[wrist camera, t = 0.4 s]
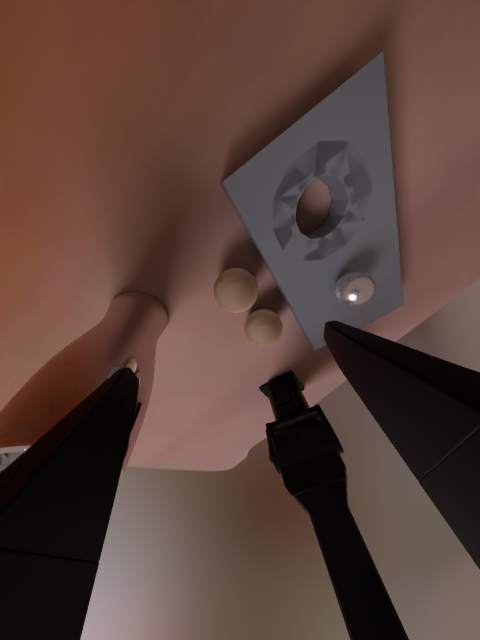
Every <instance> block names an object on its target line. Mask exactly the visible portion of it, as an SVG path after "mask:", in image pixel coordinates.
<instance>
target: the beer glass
mask: <svg viewBox="0 0 480 640" xmlns="http://www.w3.org/2000/svg"><path fill="white" fill-rule="evenodd" d="M167 323H168V315H167V311H166V309H165V308H164V306H163V305H162V304H161V303H160V302H159V301H158V300H157V299H155V298H154V297H152V296H150V295H148V294H145V293H141V292H127V293H123V294H121V295H119V296H117V297H116V298H115V299H114V300H113V301H112V302H111V304H110V306H109V308H108V310H107V313H106V315H105V317H104V318H103V319H102V320H101V321H100V322H99V323H98V324H97V325H96V326H94V327H93V328H92V329H90V330H89V331H87V332H86V333H84V334H83V335H82V336H80V337H79V338H77V339H76V340H75V341H73V342H72V343H70V344H69V345H68V346H66V347H65V348H64V349H62V350H61V351H60V352H59V353H57V354H56V355H55V356H54V357H52V358H51V359H50V360H49V361H48V362H46V363H45V364H44V365H43V366H42V367H41V368H40V369H39V370H38V371H37V372H36V373H35V374H34V375H33V376H32V377H31V378H30V379H29V380H28V381H27V382H26V383H25V384H24V385H23V387H22V388H21V389H20V390H19V391H18V392H17V393H16V394H15V395H14V396H13V397H12V399H11V400H10V401H9V402H8V403H7V404H6V406H5V407H4V408H3V409H2V410H1V411H0V473H1V472H2V471H3V470H4V469H5V468H6V467H8V466H9V465H10V464H11V463H12V462H13V461H14V460H16V459H17V458H18V457H19V456H20V455H21V454H22V453H24V452H26V450H27V449H28V448H29V447H30V446H32V445H33V444H34V443H35V442H36V441H37V440H38V439H40V438H41V437H42V436H43V435H44V434H45V433H46V432H48V431H49V430H50V429H51V428H52V427H53V426H54V425H55V424H57V423H58V422H59V421H60V420H61V419H62V418H63V417H65V416H66V415H67V414H68V413H69V412H70V411H71V410H73V409H74V408H75V407H76V406H77V405H78V404H79V403H81V402H82V401H83V400H84V399H85V398H86V397H87V396H89V395H90V394H91V393H92V392H93V391H94V390H95V389H97V388H98V387H99V386H100V385H101V384H102V383H103V382H105V381H106V380H107V379H108V378H109V377H110V376H111V375H112V374H114V373H115V372H116V371H117V370H118V369H121V368H125V367H129V368H131V369H132V371H133V372H134V373H135V375H136V376H137V377H138V379H139V389H138V397H137V404H136V411H135V417H134V422H133V426H132V430H131V434H130V438H129V442H128V446H127V450H126V454H125V458H124V462H123V466H122V471H121V475H120V479H119V483H120V482H121V481H122V479H123V477H124V474H125V470H126V467H127V464H128V462H129V459H130V456H131V454H132V451H133V448H134V446H135V443H136V440H137V438H138V435H139V432H140V429H141V427H142V424H143V421H144V418H145V414H146V411H147V408H148V404H149V400H150V396H151V392H152V387H153V379H154V370H155V355H156V345H157V341H158V338H159V337H160V335H161V334H162V332H163V331H164V329H165V328H166V326H167ZM119 483H118V484H119Z"/></svg>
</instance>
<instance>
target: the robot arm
mask: <svg viewBox="0 0 480 640" xmlns="http://www.w3.org/2000/svg"><path fill="white" fill-rule="evenodd" d="M324 340H325V342H326V344H327V346H328V348H329V350H330V352H331V353H332V355H333V357H334V359H335V361H336V363H337V364H338V366H339V368H340V369H341V371H342V372H343V374H344V375H345V377H346V378H347V380H348V381H349V383H350V384H351V385H352V387H353V388H354V390H355V391H356V392H357V394H358V395H359V397H360V398H361V400H362V401H363V403H364V404H365V405H366V407H367V408H368V410H369V411H370V413H371V414H372V416H373V417H374V418H375V420H376V421H377V423H378V424H379V426H380V427H381V428H382V430H383V431H384V433H385V434H386V435H387V437H388V438H389V440H390V441H391V443H392V444H393V445H394V447H395V448H396V450H397V451H398V453H399V454H400V456H401V457H402V459H403V460H404V461H405V463H406V464H407V466H408V467H409V468H410V470H411V471H412V473H413V474H414V476H415V477H416V479H417V480H418V481H419V483H420V485H421V486H422V487H423V489H424V490H425V492H426V493H427V495H428V496H429V497H430V499H431V500H432V501H433V503H434V505H435V506H436V507H437V509H438V510H439V512H440V513H441V515H442V516H443V518H444V519H445V520H446V522H447V523H448V525H449V526H450V528H451V529H452V530H453V532H454V533H455V535H456V536H457V538H458V539H459V540H460V542H461V543H462V545H463V546H464V548H465V549H466V551H467V552H468V553H469V554H470V556H471V558H472V559H473V561H474V562H475V563H476V565H477V566H478V568H479V569H480V372H477V371H474V370H471V369H468V368H465V367H462V366H459V365H456V364H454V363H451V362H448V361H445V360H442V359H440V358H437V357H434V356H432V357H431V355H429V354H426V353H423V352H421V351H418V350H415V349H412V348H409V347H407V346H404V345H401V344H399V343H396V342H393V341H391V340H388V339H385V338H382V337H380V336H377V335H374V334H372V333H369V332H366V331H363V330H361V329H358V328H355V327H352V326H350V325H347V324H344V323H342V322H339V321H336V320H332V321H328V322H326V323H325V327H324ZM290 373H291V374H290ZM301 388H302V389H301ZM138 389H139V379H138V377H137V376H136V375H135V373H134V372H133V371H132V369H131V368H129V367H125V368H121V369H118V370H117V371H116V372H115V373H114V374H112V375H111V376H110V377H109V378H108V379H107V380H106V381H105V382H103V383H102V384H101V385H100V386H99V387H98V388H97V389H95V390H94V391H93V392H92V393H91V394H90V395H89V396H87V397H86V398H85V399H84V400H83V401H82V402H81V403H79V404H78V405H77V406H76V407H75V408H74V409H73V410H71V411H70V412H69V413H68V414H67V415H66V416H65V417H63V418H62V419H61V420H60V421H59V422H58V423H57V424H55V425H54V426H53V427H52V428H51V429H50V430H49V431H48V432H46V433H45V434H44V435H43V436H42V437H41V438H40V439H38V440H37V441H36V442H35V443H34V444H33V445H32V446H30V447H29V448H28V449H27V450H26V452H24V453H22V454H21V455H20V456H19V457H18V458H17V459H16V460H14V461H13V462H12V463H11V464H10V465H9V466H8V467H6V468H5V469H4V470H3V471H2V472H1V473H0V640H80V638H81V634H82V630H83V625H84V622H85V617H86V614H87V610H88V605H89V601H90V597H91V593H92V589H93V585H94V581H95V577H96V573H97V569H98V565H99V562H98V561H99V560H100V556H101V552H102V548H103V544H104V540H105V536H106V532H107V528H108V523H109V519H110V515H111V511H112V507H113V503H114V499H115V495H116V491H117V486H118V483H119V479H120V475H121V471H122V466H123V462H124V458H125V454H126V450H127V446H128V442H129V438H130V434H131V430H132V426H133V422H134V417H135V411H136V404H137V397H138ZM259 389H260V391H262V392H263V393H264V394H265V395H266V396H267V397H268V398H269V400H270V403H271V406H272V410H273V413H274V416H275V419H276V421H274V422H272V423H267V424H266V428H267V429H266V434H267V439H268V445H269V459H270V462H271V463H273V464H274V466H275V467H276V470H277V472H278V473H279V474H282V478H283V481H284V484H285V487H286V488H287V489H288V491H289V492H290V494H291V495H292V496H293V497H294V498H295V499H296V500H297V502H298V503H299V504H300V505H301V506H302V508H303V509H304V510H305V511H306V512H307V514H308V515H309V516H310V518H311V521H312V524H313V527H314V530H315V533H316V536H317V539H318V542H319V545H320V548H321V551H322V554H323V557H324V560H325V563H326V566H327V569H328V572H329V576H330V578H331V581H332V584H333V588H334V590H335V594H336V597H337V600H338V603H339V606H340V609H341V612H342V615H343V618H344V621H345V624H346V627H347V630H348V633H349V636H350V639H351V640H409V639H408V636H407V634H406V632H405V630H404V628H403V625H402V623H401V621H400V619H399V617H398V615H397V613H396V610H395V608H394V606H393V604H392V602H391V599H390V597H389V595H388V593H387V590H386V588H385V586H384V584H383V582H382V579H381V577H380V575H379V573H378V571H377V569H376V567H375V564H374V562H373V560H372V558H371V555H370V553H369V551H368V549H367V547H366V545H365V542H364V540H363V538H362V536H361V534H360V531H359V529H358V527H357V525H356V523H355V521H354V518H353V516H352V514H351V512H350V509H349V504H348V483H347V472H346V467H345V464H344V462H343V461H342V458H341V456H340V454H342V453H344V451H343V448H342V446H341V444H340V442H339V440H338V438H337V436H336V434H335V432H334V430H333V428H332V427H331V425H330V423H329V422H328V420H327V418H326V417H325V415H324V413H323V411H322V410H321V408H320V406H319V405H318V404H317V405H315V406H314V407H311V408H309V405H308V403H307V401H306V399H305V397H304V395H303V393H302V391H303V390H304V386H303V385H302V384H301V382H300V381H299V380H298V378H297V377H296V376H295V374H294V373H293V372H292V371H289V372H287V373H285V374H283V375H281V376H279V377H277V378H275V379H273V380H271V381H270V382H268V383H266V384H264V385H262V386H260V387H259Z"/></svg>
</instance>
